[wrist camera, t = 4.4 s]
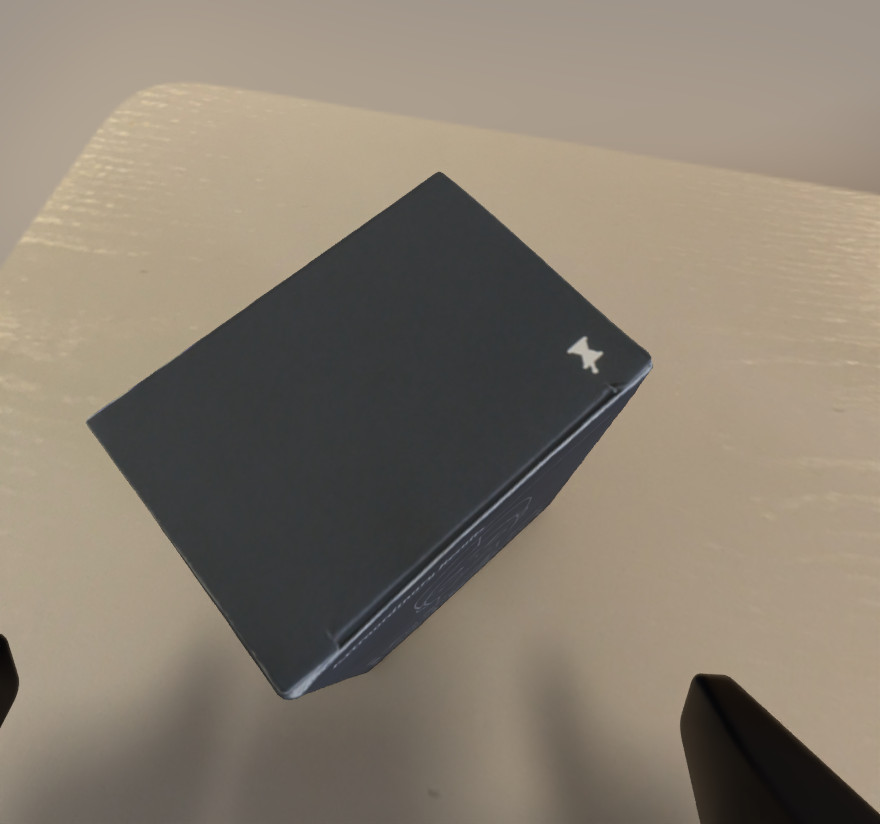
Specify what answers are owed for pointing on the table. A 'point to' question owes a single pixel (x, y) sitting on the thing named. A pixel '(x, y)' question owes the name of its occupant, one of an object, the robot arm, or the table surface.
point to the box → (371, 432)
